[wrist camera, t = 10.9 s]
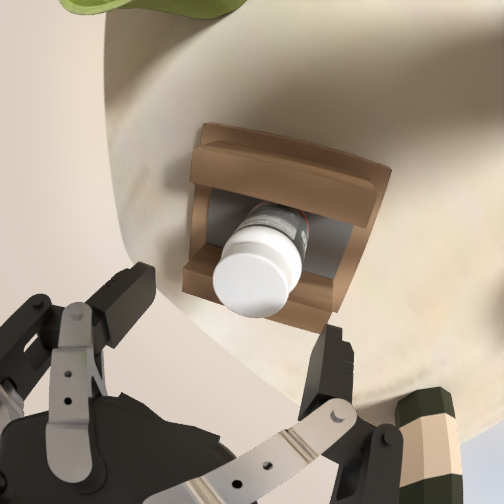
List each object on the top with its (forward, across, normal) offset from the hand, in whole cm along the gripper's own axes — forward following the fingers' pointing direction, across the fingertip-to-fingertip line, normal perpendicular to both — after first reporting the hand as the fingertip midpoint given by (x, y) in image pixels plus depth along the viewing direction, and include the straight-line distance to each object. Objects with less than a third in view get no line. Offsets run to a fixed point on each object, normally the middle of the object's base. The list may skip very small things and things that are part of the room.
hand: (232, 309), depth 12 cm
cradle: (+12, 0, +1) cm, 12 cm away
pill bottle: (+11, 0, +1) cm, 11 cm away
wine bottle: (+12, -25, +19) cm, 34 cm away
